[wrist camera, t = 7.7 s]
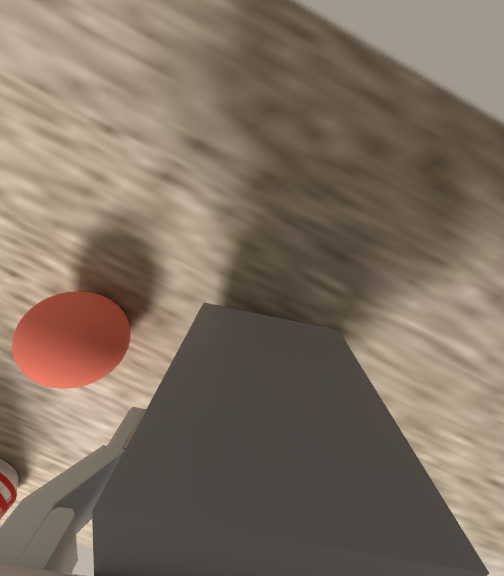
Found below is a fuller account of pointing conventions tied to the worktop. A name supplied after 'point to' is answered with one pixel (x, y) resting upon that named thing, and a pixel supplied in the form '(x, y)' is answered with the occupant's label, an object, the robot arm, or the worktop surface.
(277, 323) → the matte gray cube
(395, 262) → the worktop surface
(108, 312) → the ball
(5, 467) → the beverage can
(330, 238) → the worktop surface
